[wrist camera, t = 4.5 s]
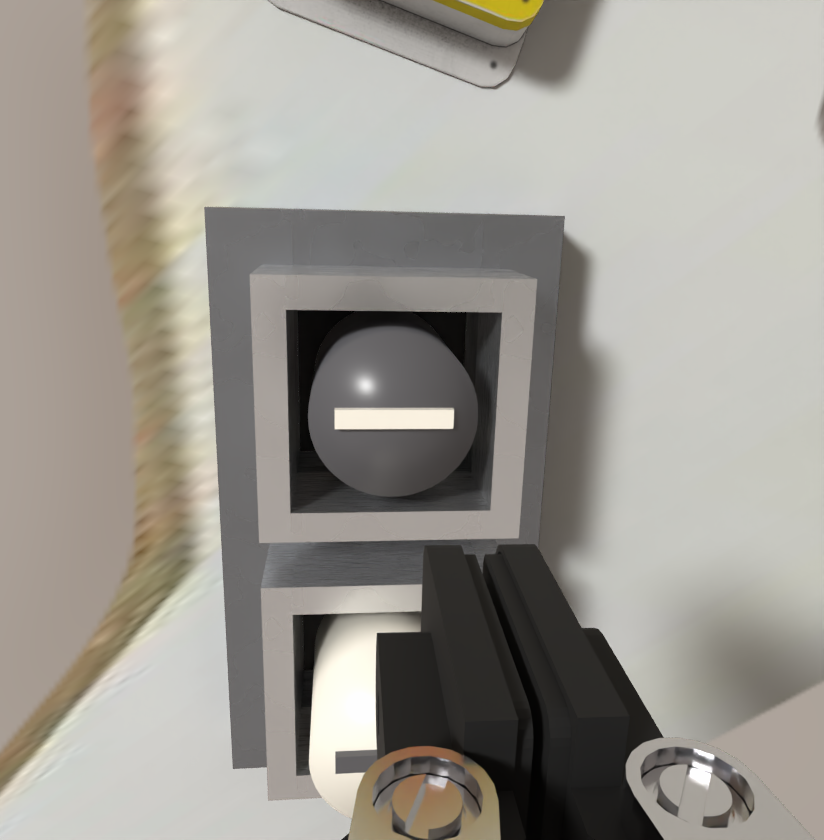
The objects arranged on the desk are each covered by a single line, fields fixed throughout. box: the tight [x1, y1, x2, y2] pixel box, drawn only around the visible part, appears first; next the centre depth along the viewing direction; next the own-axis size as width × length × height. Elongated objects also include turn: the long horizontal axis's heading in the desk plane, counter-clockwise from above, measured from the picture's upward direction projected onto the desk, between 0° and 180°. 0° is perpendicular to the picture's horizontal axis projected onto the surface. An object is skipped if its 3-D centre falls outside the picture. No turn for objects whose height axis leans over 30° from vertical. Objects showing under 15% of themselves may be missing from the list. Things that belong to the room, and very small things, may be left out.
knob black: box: [308, 311, 478, 497], centre depth 25 cm, size 5×5×6 cm
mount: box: [204, 207, 565, 801], centre depth 27 cm, size 12×22×6 cm, turn 179°
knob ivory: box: [309, 611, 421, 819], centre depth 25 cm, size 5×5×6 cm
